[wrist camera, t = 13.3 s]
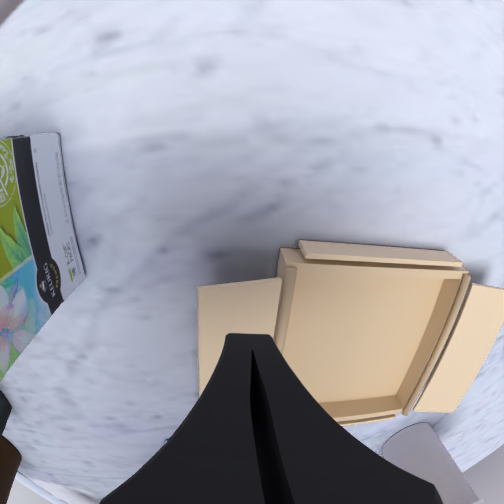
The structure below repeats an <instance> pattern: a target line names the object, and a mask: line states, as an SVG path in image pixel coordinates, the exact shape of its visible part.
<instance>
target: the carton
mask: <svg viewBox="0 0 504 504" xmlns="http://www.w3.org/2000/svg"><path fill="white" fill-rule="evenodd" d="M298 245H299V247H300V249H295V248H280V253H279V260H278V268H277V276H276V278H277V277H280V278H281V279H282V282H281V290H280V297H279V303H278V310H277V317H276V324H275V330H274V337H273V340H274V342H275V344H276V345H277V347H278V349H279V350H280V352H281V354H282V355H283V357H284V358H285V360H286V362H287V363H288V365H289V366H290V368H291V369H292V370H293V372H294V373H295V374H296V376H297V377H298V379H299V380H300V381H301V383H302V384H303V385H304V387H305V388H306V389H307V390H308V392H309V393H310V394H311V395H312V396H313V397H314V399H315V400H316V401H317V402H318V403H319V404H320V405H321V406H322V408H323V409H324V410H325V411H326V412H327V413H328V414H329V415H330V416H331V417H332V418H333V419H334V420H335V421H336V422H337V423H338V424H340V425H341V426H349V425H357V424H365V423H372V422H378V421H384V420H390V419H395V415H394V414H397V413H402V414H403V415H405V416H407V415H408V413H409V412H410V410H411V408H412V407H413V405H414V403H415V401H416V400H417V398H418V396H419V394H420V393H421V391H422V389H423V387H424V385H425V383H426V382H427V380H428V378H429V376H430V374H431V372H432V370H433V368H434V366H435V364H436V362H437V360H438V358H439V356H440V354H441V352H442V349H443V347H444V345H445V343H446V341H447V339H448V336H449V334H450V332H451V329H452V327H453V325H454V322H455V320H456V317H457V315H458V312H459V310H460V307H461V305H462V302H463V300H464V297H465V294H466V291H467V289H468V286H469V283H470V280H471V276H470V275H468V273H469V271H468V270H467V269H465V268H464V267H463V266H462V265H463V262H461V261H460V260H459V259H457V258H456V257H455V256H453V255H452V254H450V253H449V252H448V251H437V250H425V249H412V248H400V247H387V246H374V245H361V244H347V243H333V242H319V241H305V240H299V243H298Z"/></svg>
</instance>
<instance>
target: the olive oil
mask: <svg viewBox="0 0 504 504" xmlns="http://www.w3.org/2000/svg"><path fill="white" fill-rule="evenodd" d="M20 462H21V455H20V453H19V452H18V451H17V449H16V448H15V447H14V446H13V445H12V444H11V443H10V442H9V441H8V440H6V439H5V438H4V437H3V436H2V435H1V437H0V504H6V503H7V500H8V497H9V493H10V490H11V487H12V484H13V481H14V478H15V475H16V473H17V470H18V467H19V465H20Z"/></svg>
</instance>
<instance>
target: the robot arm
mask: <svg viewBox="0 0 504 504" xmlns="http://www.w3.org/2000/svg"><path fill="white" fill-rule="evenodd" d="M99 504H443V501H442V499H441V496H440V495H439V493H438V491H437V489H436V487H435V485H434V484H432V483H430V482H428V481H426V480H423V479H421V478H419V477H417V476H415V475H413V474H411V473H409V472H407V471H405V470H403V469H401V468H399V467H397V466H396V465H394V464H392V463H391V462H389V461H387V460H386V459H384V458H382V457H381V456H379V455H378V454H376V453H375V452H374V451H372V450H371V449H369V448H368V447H367V446H365V445H364V444H363V443H361V442H360V441H359V440H357V439H356V438H355V437H353V436H352V435H351V434H350V433H349V432H347V431H346V430H345V429H344V428H343V427H342V426H341V425H340V424H338V423H337V422H336V421H335V420H334V419H333V418H332V417H331V416H330V415H329V414H328V413H327V412H326V411H325V410H324V409H323V408H322V406H321V405H320V404H319V403H318V402H317V401H316V400H315V399H314V397H313V396H312V395H311V394H310V393H309V392H308V390H307V389H306V388H305V387H304V385H303V384H302V383H301V381H300V380H299V379H298V377H297V376H296V374H295V373H294V372H293V370H292V369H291V368H290V366H289V365H288V363H287V362H286V360H285V358H284V357H283V355H282V354H281V352H280V350H279V349H278V347H277V345H276V344H275V342H274V340H273V338H272V337H271V336H270V335H269V334H244V333H228V334H227V335H226V336H225V342H224V346H223V350H222V353H221V355H220V358H219V360H218V363H217V365H216V367H215V369H214V371H213V374H212V376H211V378H210V380H209V382H208V383H207V385H206V387H205V389H204V390H203V392H202V394H201V396H200V397H199V399H198V401H197V402H196V404H195V405H194V407H193V408H192V410H191V411H190V413H189V414H188V416H187V417H186V418H185V420H184V421H183V422H182V424H181V425H180V426H179V428H178V429H177V430H176V431H175V432H174V434H173V435H172V436H171V437H170V439H169V440H166V441H165V442H164V445H163V446H162V448H161V449H160V450H159V451H158V452H157V453H156V454H155V455H154V456H153V457H152V458H151V459H150V460H149V461H148V462H147V463H146V464H145V465H143V466H142V467H141V468H140V469H139V470H138V471H137V472H136V473H135V474H134V475H133V476H131V477H130V478H129V479H128V480H127V481H125V482H124V483H123V484H121V485H120V486H119V487H118V488H116V489H115V490H114V491H112V492H111V493H110V494H108V495H107V496H106V497H104V498H103V499H102V500H101V502H100V503H99Z"/></svg>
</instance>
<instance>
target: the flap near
mask: <svg viewBox="0 0 504 504" xmlns="http://www.w3.org/2000/svg"><path fill="white" fill-rule="evenodd" d="M281 282H282V279H281V278H280V277H277V278H269V279H260V280H252V281H243V282H234V283H225V284H216V285H207V286H198V381H199V397H200V396H201V394H202V392H203V390H204V389H205V387H206V385H207V383H208V382H209V380H210V378H211V376H212V374H213V371H214V369H215V367H216V365H217V363H218V360H219V358H220V355H221V353H222V350H223V346H224V342H225V336H226V335H227V334H228V333H244V334H269V335H270V336H271V337H272V338H273V337H274V330H275V324H276V317H277V310H278V303H279V297H280V290H281Z"/></svg>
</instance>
